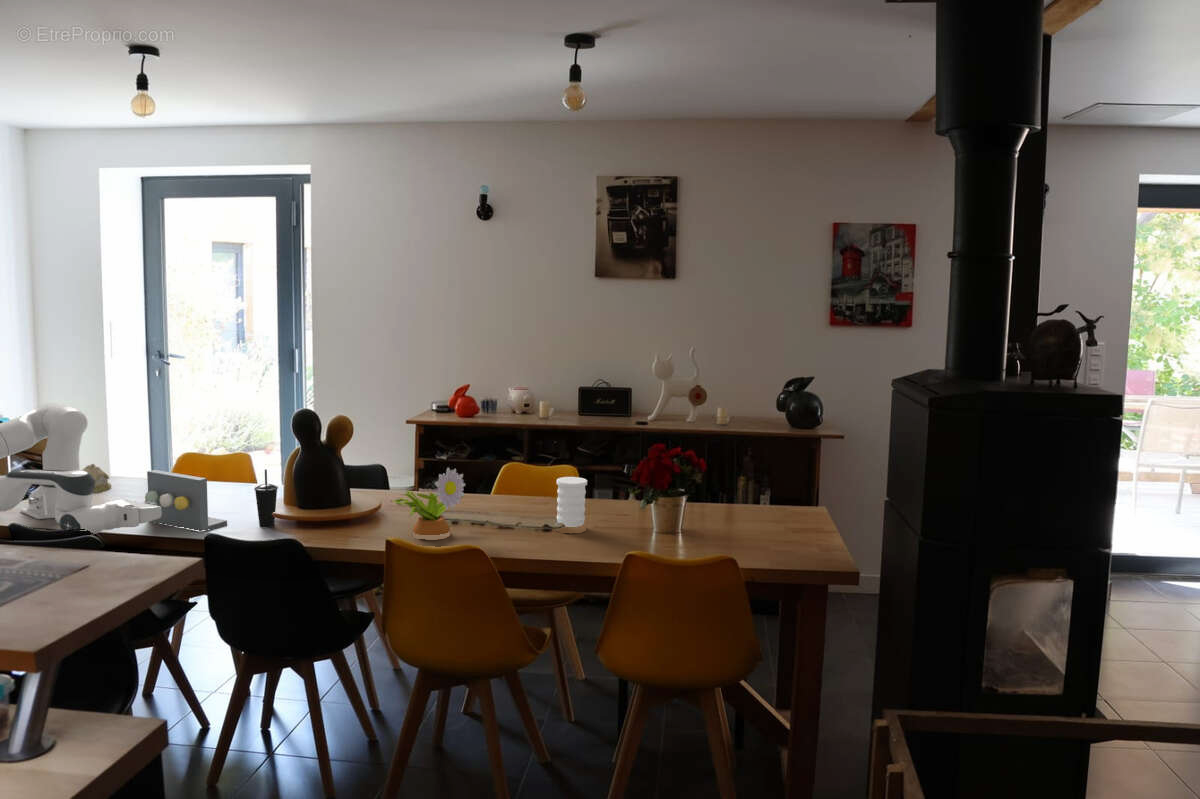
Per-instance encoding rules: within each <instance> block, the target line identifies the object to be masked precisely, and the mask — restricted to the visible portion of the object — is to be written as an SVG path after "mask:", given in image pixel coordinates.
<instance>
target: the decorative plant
mask: <svg viewBox="0 0 1200 799" xmlns="http://www.w3.org/2000/svg"><path fill="white" fill-rule="evenodd" d="M445 471H446V472H444V473H442V474H441V473H439V474H438V481H435V482H434V484H435V486H436V487H437V491H436V492H435V493H432V492H431V491H430V492H429V495H428V494H423V493H417V494H416V495H415V494H414V493H413V491H412V490H411V491H410V490H406V493H403V494H402V495H404V496H406V497H408V498H409V499H410V500H411V501H409V500H408V499H404V498H398V499H395V500H390V502H391V503H395V504H397V505H398V506H404V505H407V506H408V507H409V508H411V511H410V514H409V517H410V516H412V515H413V514H415V513H417V514H418V515H419V516H418V518H417V519H418V520H417V522H416V523H415V525H414V526H413V529H412V533H413V532H414V533H415V534H419V535H440V534H445V533H448V532H449V531H450V532H451V530H450V525H449V524H448V523H447V521H446V519H445V517H444V516H443V515H442V514H443V513H444V512H445V511H446V510H447V509H448V508H450V507H451V509H453V510H454V509H455V506H456V505H457V504H459V505H461V500H462V499H463V497H464V496H465V493H464V492H463V491H464V487H466V483H465V482H464V479H463V477H464V473H460V474H459V473H458V472H457V469H456V468H454V469H450V467H447V468H446V470H445ZM418 497H420V498H423V499H427V500H428V502H427V505H426V504H425V503H424V502H423V500H422V499H420V498H418ZM438 497H439V503H438V499H437V498H438Z"/></svg>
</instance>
